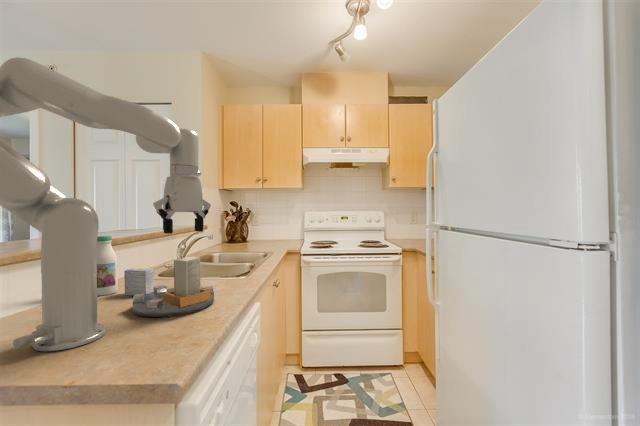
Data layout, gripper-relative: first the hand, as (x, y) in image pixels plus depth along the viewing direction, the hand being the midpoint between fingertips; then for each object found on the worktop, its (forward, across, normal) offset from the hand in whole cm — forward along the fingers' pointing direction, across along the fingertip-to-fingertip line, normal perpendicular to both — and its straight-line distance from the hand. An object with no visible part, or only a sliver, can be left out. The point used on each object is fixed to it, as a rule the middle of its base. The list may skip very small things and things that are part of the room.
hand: (184, 232), depth 87 cm
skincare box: (+20, -1, +1) cm, 20 cm away
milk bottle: (+23, +4, -40) cm, 46 cm away
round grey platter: (+22, -1, -6) cm, 23 cm away
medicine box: (+23, -2, -28) cm, 36 cm away
